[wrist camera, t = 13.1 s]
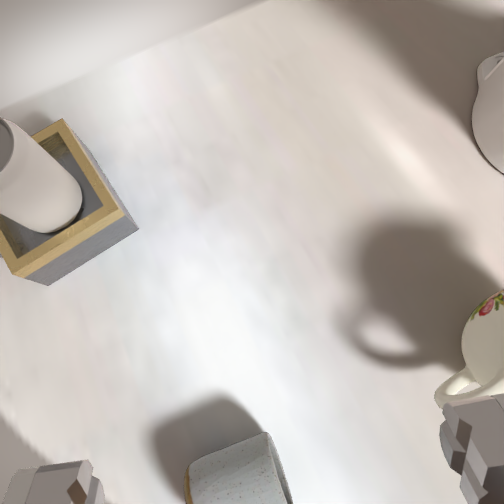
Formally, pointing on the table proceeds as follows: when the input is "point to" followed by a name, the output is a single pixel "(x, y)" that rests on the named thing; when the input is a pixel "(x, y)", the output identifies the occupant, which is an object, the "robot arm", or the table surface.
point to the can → (34, 183)
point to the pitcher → (479, 354)
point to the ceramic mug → (239, 475)
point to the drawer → (80, 229)
